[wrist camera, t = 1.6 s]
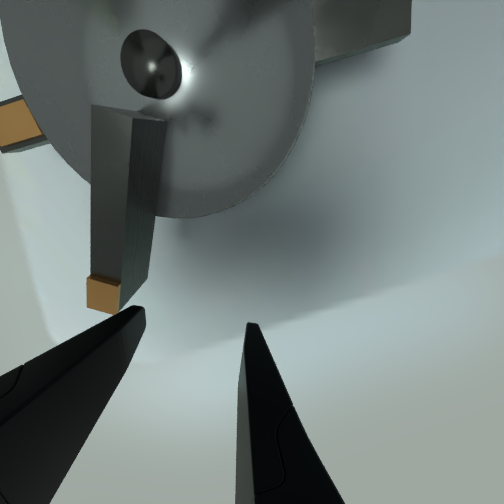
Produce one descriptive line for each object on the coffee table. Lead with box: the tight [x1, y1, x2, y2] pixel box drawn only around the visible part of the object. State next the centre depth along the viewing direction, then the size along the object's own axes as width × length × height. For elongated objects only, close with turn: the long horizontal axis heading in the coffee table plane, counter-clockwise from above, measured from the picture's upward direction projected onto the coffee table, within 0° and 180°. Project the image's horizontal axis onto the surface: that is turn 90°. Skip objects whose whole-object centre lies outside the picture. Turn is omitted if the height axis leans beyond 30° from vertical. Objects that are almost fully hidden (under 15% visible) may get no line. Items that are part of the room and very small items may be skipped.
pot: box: [0, 0, 412, 205], centre depth 15 cm, size 24×15×5 cm, turn 103°
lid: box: [0, 0, 315, 315], centre depth 11 cm, size 19×15×5 cm
